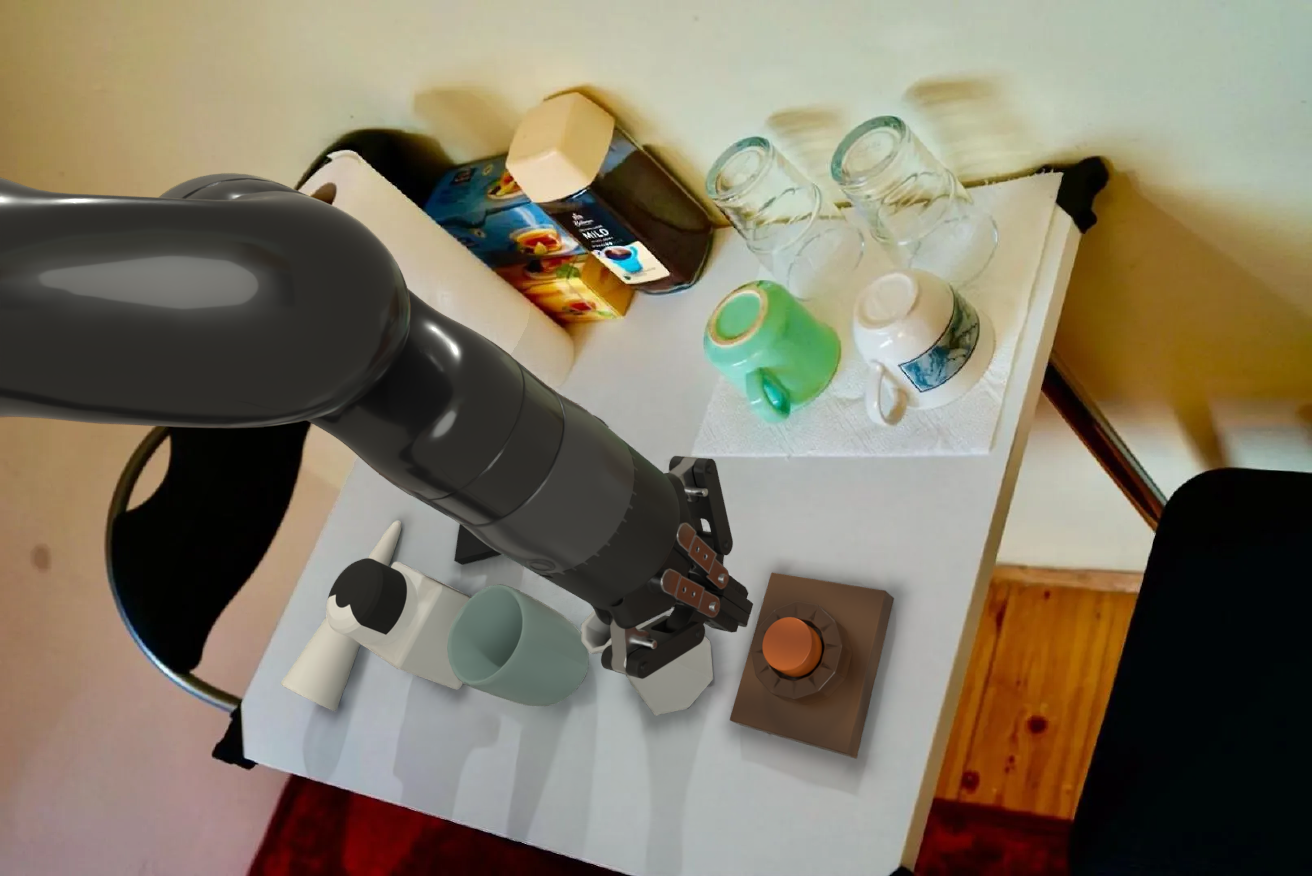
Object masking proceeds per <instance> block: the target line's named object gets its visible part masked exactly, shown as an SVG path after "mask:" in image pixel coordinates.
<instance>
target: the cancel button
mask: <svg viewBox="0 0 1312 876" xmlns="http://www.w3.org/2000/svg"><path fill="white" fill-rule="evenodd" d="M762 648H763V654H764V657H765V659H766V661H767V662H768V663H769V664H770V665H771V666H772V667H773V668H775V669H777V670H778V671H780V672H782V673H783V674H785V675H787V676H791V677H800V676H803V675H806V674H808V673H809V672H811V671H812V670H813V669H814V668H815V667H816V665H817V664H818V662H819V660H820V657H821V653H822V644H821V640H820V637H819V635H818V634H817V632H816V631H815V630H814V629H812V628H811V627H810V626H808V625H807V624H806V623H804V622H803V621H801V620H800V619H797V618H793V617H786V618H782V619H779V620H777V621H776V622H774V623H773V624H772V625H771V626H770V627H769V628H768V630H767V631H766V633H765V636H764V638H763V645H762Z"/></svg>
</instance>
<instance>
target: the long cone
mask: <svg viewBox="0 0 1312 876" xmlns="http://www.w3.org/2000/svg"><path fill="white" fill-rule="evenodd" d="M401 531H402V522H401V521H400V520H395V521H393V523H391V524H390V526H389V527H388V528H387V529H386V530H385V532H384V533H383V535H382V536H381V538H380V539H379V540H378V542H377V543H376V544H375V546H374V548H373V549H372V550H371V552H370V553H369V555H368V556H367V558H370V559H374V560H376V561H378V562H380V563H382V564H384V565H387V566H389V567H390V564H391V562H392V558H393V555H394V553H395V550H396V546H397V544H398V542H399V538H400V536H401ZM360 647H361V644H360V643H358V642H357V641H355V640H354V639H353V638H350V637H348V636H345V635H342V634H340V633H337V632H335V631H334V630H333V629H332V628H331V627H330V625H329V622H328V619H327V615H326V616H325V618H324V619H323V621H322V622H321V624H320V625H319V626H318V628H317V630H316V631H314V634H313V635H312V637H311V638H310V640H309V641H308V642H307V644H306V645H305V647H304V648H303V650H302V651H301V653H300V654H299V655H298V657H297V658H296V660H295V661H294V662H293V664H292V666H290V669H289V670H288V671H287V673H286V674H285V676H284V677H283V679H282V680H281V682H280V686H282V687H284V688H285V689H288V690H289V691H291V692H293V693H295V694H297V695H299V696H300V697H302V698H305V699H306V700H308V701H310V702H313V703H314V704H317V705H319V706H321V707H324V708H326V709H328V710H330V711H333V712H337V711H338V707H339V706H340V702H341V699H342V697H343V694H344V691H345V689H346V686H347V683H348V680H349V677H350V673H351V671H352V669H353V667H354V666H353V665H354V664H355V660H356V657H357V655H358V652H359V649H360Z"/></svg>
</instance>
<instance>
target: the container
mask: <svg viewBox="0 0 1312 876" xmlns="http://www.w3.org/2000/svg"><path fill="white" fill-rule="evenodd" d="M471 597H472V596H470V595H468V594H467V593H464V592H463V591H461V590H459V589H457V588H455V587H453V586H451V585H449V584H446V583H445V582H442V581H440V580H438V579H436V578H434V577H432V576H430V575H427V574H425V573H423V572H421V571H419V570H416V569H414V568H413V567H411V566H408V565H407V564H404V563H402V562H400V561H394V562H392V564H391V566H390V565H389V566H387V565H384V564H382V563H380V562H378V561H376V560H374V559H370V558H368V557H365V558H361V559H359V560H356V561H354V562H351V563H350V564H349V565H347V566H346V567H345V568H344V569H343V570H342V571H341V572H340V573H339V575H338V576H337V578H336V579H335V581H334V582H333V584H332V586H331V588H330V591H329V593H328V596H327V599H326V600H327V601H326V605H325V606H326V607H325V612H326V613H325V614H326V616H327V619H328V622H329V625H330V627H331V628H332V629H333V630H334V631H335V632H337V633H340V634H342V635H345V636H348V637H350V638H353V639H354V640H355V641H357V642H358V643H360V646H363V647H364V648H366V649H367V650H369V651H370V652H372V653H373V654H375V655H376V656H378V657H379V658H381V659H382V660H384V661H385V662H386V663H388V664H389V665H391V666H392V667H393V668H395V669H396V670H400V671H403V672H405V673H408V674H410V675H414V676H416V677H419V678H422V679H425V680H427V681H430V682H434V683H436V684H438V685H441V686H444V687H446V688H447V687H448V688H450V689H453V690H460V689H461V687H462V686H463V684H464V683H463V682H462V681H460V680H459V679H458V678H457V677H456V675H455V674H454V672H453V670H452V668H451V666H450V663H449V659H448V651H447V644H448V636H449V632H450V628H451V626H452V623H453V621H454V619H455V617H456V616H457V614H458V612H459V611H460V610H461V608H462V607H463V606H464V605H465V603H466V602H467V601H468V600H469V599H470V598H471Z"/></svg>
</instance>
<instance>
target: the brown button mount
mask: <svg viewBox="0 0 1312 876" xmlns="http://www.w3.org/2000/svg"><path fill="white" fill-rule="evenodd" d="M894 601H895V598H894V597H893V596H892V595H891V594H890V593H889V592H888V591H887V590H885V589H878V588H872V587H866V586H859V585H853V584H847V583H841V582H835V581H828V580H823V579H816V578H811V577H803V576H797V575H790V574H785V573H779V572H771V573H770V575H769V579H768V582H767V587H766V590H765V593H764V596H763V600H762V604H761V608H760V610H759V611H760V612H759V613H758V618H757V621H756V625H755V629H754V632H753V635H752V639H751V642H750V646H749V649H748V653H747V657H746V660H745V664H744V667H743V671H742V674H741V677H740V682H739V685H738V688H737V693H736V696H735V699H734V702H733V706H732V709H731V712H730V717H729V721H730V722H732V723H735V724H737V725H738V726H741V727H745V728H748V729H752V730H755V731H758V732H762V733H765V734H769V735H772V736H775V737H779V738H782V739H786V740H790V741H793V742H796V743H799V744H803V745H807V746H810V747H813V748H817V749H821V750H823V751H826V752H830V753H834V754H837V755H841V756H845V757H848V758H852V759H855V760H857V758H858V754H859V751H860V746H861V743H862V738H863V734H864V730H865V726H866V720H867V717H868V711H869V709H870V703H871V700H872V695H873V691H874V687H875V683H876V678H877V674H878V669H879V665H880V661H881V656H882V652H883V648H884V644H885V639H886V636H887V630H888V627H889V622H890V618H891V614H892V609H893V606H894ZM786 617H793V618H797V619H800V620H801V621H803V622H804V623H806V624H807V625H808V626H810V627H811V628H812V629H814V630H815V631H816V632H817V634H818V635H819V637H820V640H821V644H822V653H821V657H820V660H819V662H818V664H817V665H816V667H815V668H814V669H813V670H812V671H811V672H809V673H808V674H806V675H803V676H800V677H791V676H787V675H785V674H783V673H782V672H780V671H778V670H777V669H775V668H773V667H772V666H771V665H770V664H769V663H768V662H767V661H766V659H765V657H764V654H763V648H762V645H763V638H764V636H765V633H766V631H767V630H768V628H769V627H770V626H771V625H772V624H773V623H774V622H776V621H777V620H779V619H782V618H786Z"/></svg>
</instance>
